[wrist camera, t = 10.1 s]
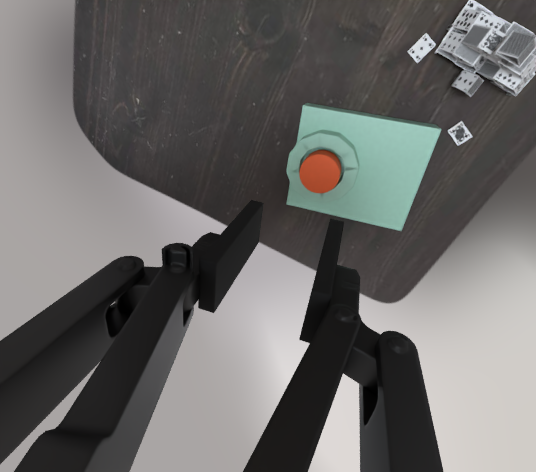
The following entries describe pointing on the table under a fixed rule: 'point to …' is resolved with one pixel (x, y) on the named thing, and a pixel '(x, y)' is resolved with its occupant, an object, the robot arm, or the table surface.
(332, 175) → the button
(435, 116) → the table surface
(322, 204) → the button box
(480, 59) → the house of cards
